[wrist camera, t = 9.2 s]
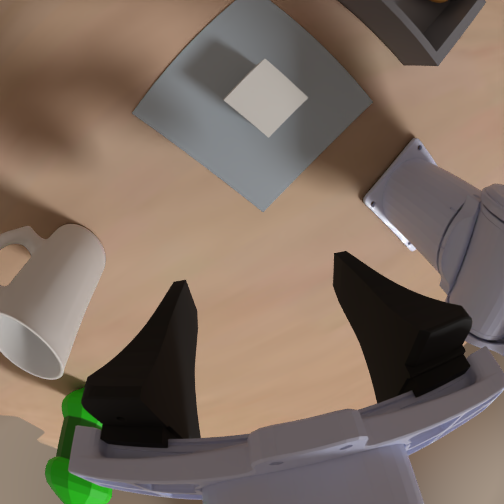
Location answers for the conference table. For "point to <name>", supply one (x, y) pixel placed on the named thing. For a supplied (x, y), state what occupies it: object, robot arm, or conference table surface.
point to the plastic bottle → (57, 475)
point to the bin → (417, 25)
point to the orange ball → (438, 1)
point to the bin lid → (253, 99)
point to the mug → (48, 297)
